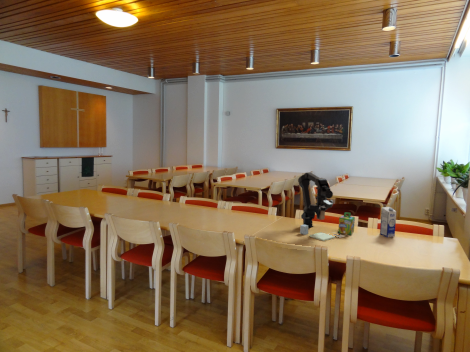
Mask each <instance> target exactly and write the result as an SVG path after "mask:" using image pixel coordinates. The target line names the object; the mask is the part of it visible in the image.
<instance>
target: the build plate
mask: <svg viewBox="0 0 470 352" xmlns="http://www.w3.org/2000/svg"><path fill="white" fill-rule="evenodd" d="M329 234H330V233H325V232H317V233H314V234H309V237H311V238H312V239H316V240H319V241H323V242H325V240H326V241H329V240H332V238H333V239H335V238H336V237H335V236H332V235H329Z"/></svg>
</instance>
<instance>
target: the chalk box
mask: <svg viewBox="0 0 470 352" xmlns="http://www.w3.org/2000/svg"><path fill="white" fill-rule="evenodd" d="M355 222H356V218H355V216H352V214H351V212H344V213H343V215H341V216H340V217H339V219H338V230H337V234H341V235H349V236H352V235H353V233H354V232H355Z"/></svg>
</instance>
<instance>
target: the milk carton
mask: <svg viewBox="0 0 470 352" xmlns="http://www.w3.org/2000/svg"><path fill="white" fill-rule="evenodd" d="M380 213H381V215H380V229H379V235H381V236H382V237H386V238H391V237H392V238H393V237H395V235H396V234H395V233H396V222H397V210H395V209H394V208H392V207H391V206H384V207H383V206H382V207H381V212H380Z"/></svg>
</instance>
